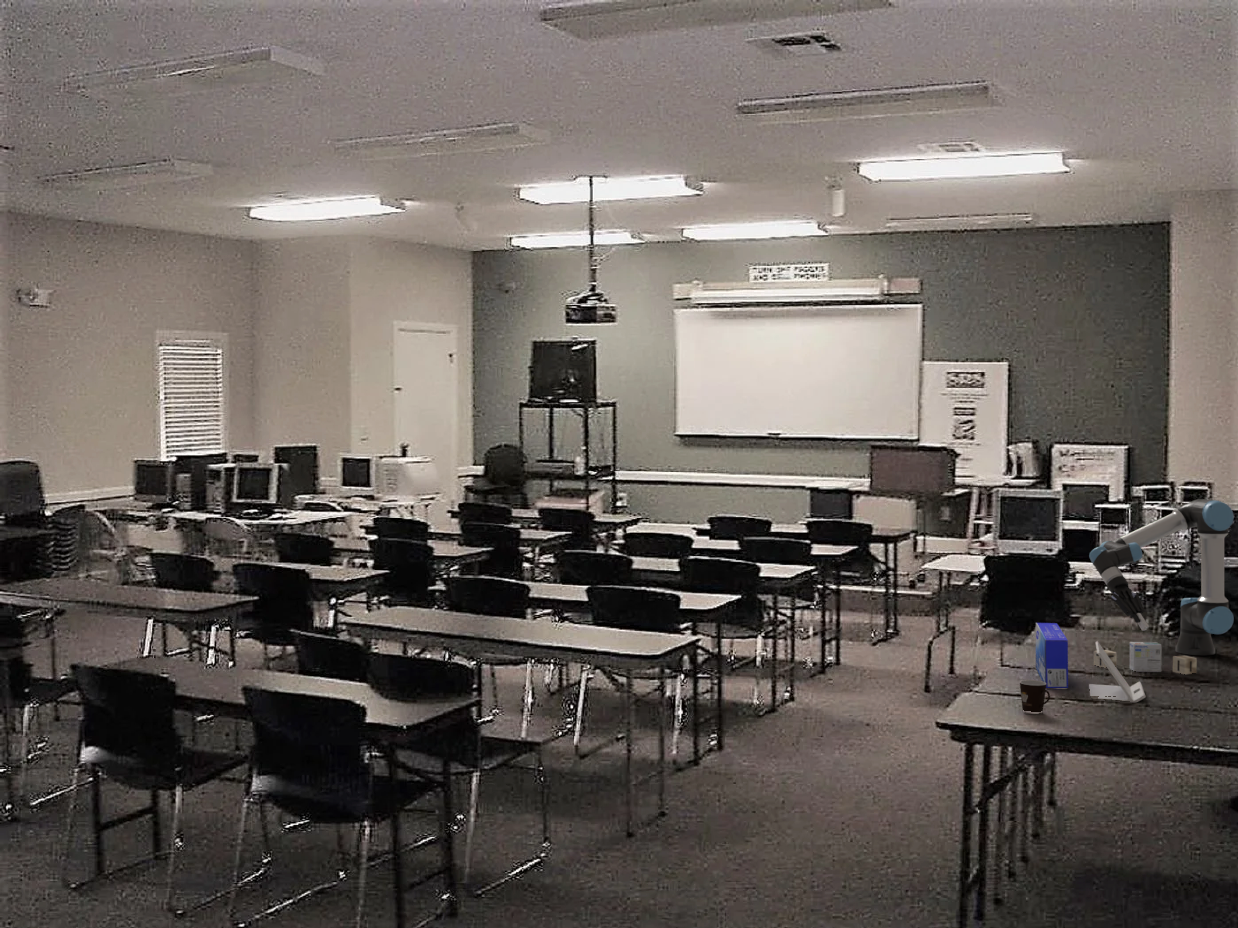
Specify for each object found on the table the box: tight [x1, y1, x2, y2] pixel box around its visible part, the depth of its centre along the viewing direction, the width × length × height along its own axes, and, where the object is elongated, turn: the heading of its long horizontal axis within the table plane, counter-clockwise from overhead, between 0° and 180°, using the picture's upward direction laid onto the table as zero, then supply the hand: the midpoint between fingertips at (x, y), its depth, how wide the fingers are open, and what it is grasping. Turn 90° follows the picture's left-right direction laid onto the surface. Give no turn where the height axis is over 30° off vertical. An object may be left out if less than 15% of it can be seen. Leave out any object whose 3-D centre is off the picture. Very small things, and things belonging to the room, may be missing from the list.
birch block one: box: [1172, 655, 1198, 675], centre depth 520 cm, size 6×6×6 cm
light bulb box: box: [1129, 641, 1162, 673], centre depth 524 cm, size 11×7×11 cm, turn 85°
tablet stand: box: [1088, 640, 1147, 703], centre depth 480 cm, size 18×25×17 cm
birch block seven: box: [1093, 649, 1117, 669], centre depth 532 cm, size 6×6×6 cm
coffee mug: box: [1019, 679, 1051, 712], centre depth 449 cm, size 12×9×10 cm
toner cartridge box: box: [1035, 622, 1069, 689], centre depth 507 cm, size 39×8×18 cm, turn 168°
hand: (1145, 628), depth 524 cm, fingers closed
